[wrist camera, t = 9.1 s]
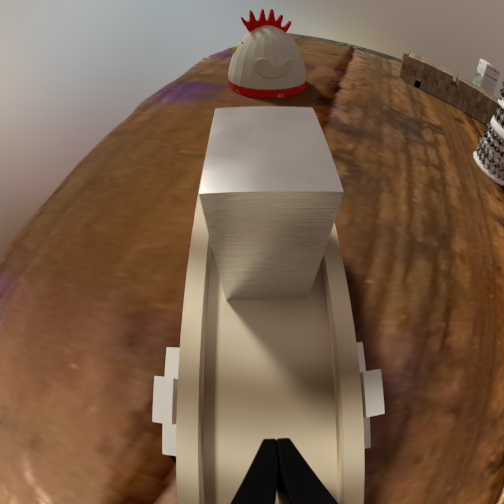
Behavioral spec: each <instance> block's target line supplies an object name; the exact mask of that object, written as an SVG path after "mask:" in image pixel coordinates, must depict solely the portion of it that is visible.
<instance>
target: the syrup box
mask: <svg viewBox="0 0 504 504" xmlns="http://www.w3.org/2000/svg"><path fill="white" fill-rule="evenodd" d="M499 75H500V71H499V70H498V69H496V68H495V67H494V66H492V65H491V64H490V63H488V62H486V61H484V60H482V59H480V61H479V65H478V68H477V71H476V75H475V78H474V81H473V83H475V84H476V85H478V86H480V87H481V88H483V89H484V90H486V91H487V92H489V93H491V94H492V95H493V93H494V90H495V87H496V84H497V81H498V78H499Z"/></svg>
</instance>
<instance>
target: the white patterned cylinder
mask: <svg viewBox="0 0 504 504" xmlns="http://www.w3.org/2000/svg"><path fill="white" fill-rule="evenodd" d="M503 85H504V82H503ZM500 92H501V95H502V98H500V99H498V103H499V106H498V108H497V110H496V113H495V115H494V116H493V117H492V119H491V121H490V123H488V124H487V129H488V130H486V131H484V137H483V138H480V140H479V143H480V144H478V145H477V146H476V151H475V152H474V153H473V158H474V160H475V162H476V164H477V165H478V166H479V167H480V169H481V170H482V171H483V172H484V173H485V174H486V175H487V176H488V177H489V178H490V179H492V180H493V181H494V182H496V183H498V184H500V185H502V186H504V89H500Z"/></svg>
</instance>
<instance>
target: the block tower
mask: <svg viewBox="0 0 504 504" xmlns="http://www.w3.org/2000/svg"><path fill="white" fill-rule="evenodd" d="M399 77H400V78H402V79H404V80H403V82H406V83H408V84H411V85H413V86H414V85H415V81H416V78H417V79H420V80H421V83H420V89H422V90H424V91H426V92H428V93H430V94H432V95H434V96H436V97H438V98H441V99H442V100H444V101H446V102H448V103H450V104H452V105H453V106H455V107H457V108H459V109H461V110H462V111H464V112H466V113H467V114H469V115H471V116H472V117H474V118H476V119H477V120H479V121H480V122H482V123H484V124H485V125H487V124H488V123H490V121H491V119H492V117H493V116H494V115H495V113H496V110H497V108H498V106H499V103H498V99H499V98H498V97H496V96H495V95H492V94H491V93H489V92H487V91H486V90H484V89H483V88H481V87H480V86H478V85H476V84H475V83H473V82H471V81H469V80H468V79H466V78H464V77H459V76H457V78H456V82H454V81H453V80H452V78H453V75H452V71H451V70H448V69H446V68H444V67H442V66H440V65H438V64H436V63H434V62H431V61H430V60H428V59H425V58H423V57H420V56H418V55H415V54H413V53H410V52H409V51H406V50H405V51H404V53H403V58H402V63H401V69H400V74H399Z"/></svg>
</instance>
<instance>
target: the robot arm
mask: <svg viewBox="0 0 504 504" xmlns="http://www.w3.org/2000/svg"><path fill="white" fill-rule="evenodd" d="M276 494H277V496H278V502H279V504H338V502H337V501H336V500H335V499H334V497H333V496H332V495H331V493H330V492H329V491H328V490H327V488H326V487H325V486H324V485H323V483H322V482H321V481H320V479H319V478H318V477H317V475H316V474H315V473H314V471H313V470H312V469H311V467H310V466H309V465H308V463H307V462H306V460H305V459H304V458H303V456H302V455H301V453H300V452H299V451H298V449H297V448H296V446H295V445H294V444H293V442H292V441H291V439H290V438H278V439H277V440H276V439H274V438H272V439H263V441H262V443H261V445H260V447H259V449H258V451H257V453H256V455H255V457H254V459H253V461H252V463H251V465H250V467H249V469H248V471H247V473H246V475H245V477H244V479H243V481H242V483H241V485H240V487H239V489H238V490H237V492H236V494H235V496H234V498H233V500H232V501H231V503H230V504H275V502H276Z"/></svg>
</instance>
